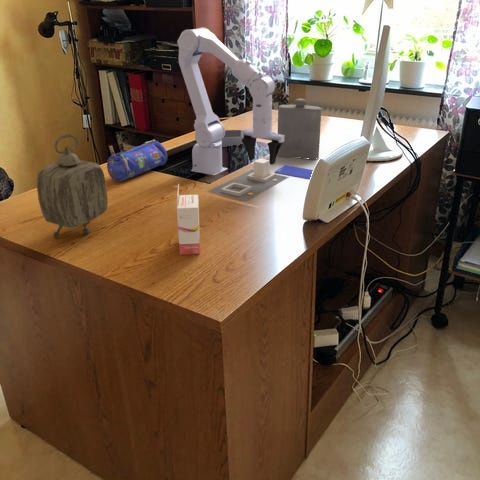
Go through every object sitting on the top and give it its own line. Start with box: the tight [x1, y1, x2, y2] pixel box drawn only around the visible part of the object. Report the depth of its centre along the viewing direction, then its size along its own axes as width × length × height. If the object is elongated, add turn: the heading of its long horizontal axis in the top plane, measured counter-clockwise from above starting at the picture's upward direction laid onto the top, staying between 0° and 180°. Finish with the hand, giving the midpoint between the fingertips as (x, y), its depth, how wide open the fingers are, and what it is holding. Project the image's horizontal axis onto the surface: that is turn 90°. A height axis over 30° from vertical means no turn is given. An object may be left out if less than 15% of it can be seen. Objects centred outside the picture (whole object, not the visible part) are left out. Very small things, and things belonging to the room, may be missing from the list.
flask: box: [277, 98, 322, 160], centre depth 187 cm, size 15×6×20 cm, turn 73°
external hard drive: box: [222, 129, 244, 147], centre depth 207 cm, size 13×19×4 cm
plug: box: [253, 158, 271, 178], centre depth 169 cm, size 4×4×6 cm
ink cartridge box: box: [176, 183, 201, 256], centre depth 125 cm, size 9×5×15 cm, turn 5°
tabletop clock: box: [36, 133, 108, 239], centre depth 130 cm, size 14×9×25 cm, turn 150°
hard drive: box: [274, 164, 314, 180], centre depth 174 cm, size 2×8×12 cm
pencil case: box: [106, 139, 168, 182], centre depth 175 cm, size 22×9×10 cm, turn 148°
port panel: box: [207, 169, 290, 202], centre depth 165 cm, size 14×24×2 cm, turn 146°
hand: (262, 161), depth 168 cm, fingers open, 7 cm apart
